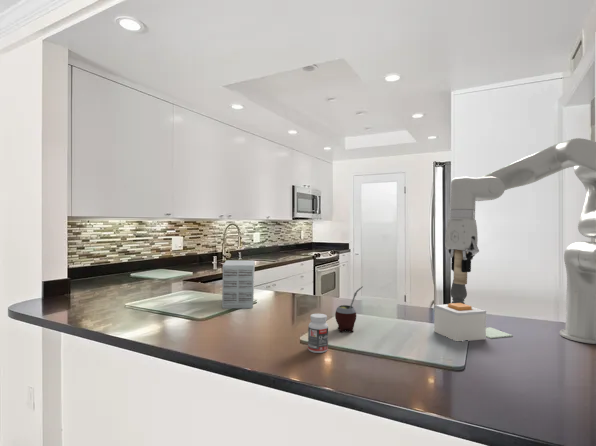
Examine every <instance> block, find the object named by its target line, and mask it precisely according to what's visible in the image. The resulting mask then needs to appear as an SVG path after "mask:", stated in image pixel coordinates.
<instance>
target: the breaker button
mask: <svg viewBox="0 0 596 446" xmlns="http://www.w3.org/2000/svg"><path fill="white" fill-rule="evenodd" d="M447 304H448V307H449V308H452V309H455V310H458V311H462V310H472V307H473V306H472V305H468V304H466V303H465V304H463V303H452V302H450V303H447Z"/></svg>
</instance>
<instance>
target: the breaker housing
mask: <svg viewBox="0 0 596 446" xmlns="http://www.w3.org/2000/svg"><path fill="white" fill-rule="evenodd" d="M448 304H449V303H446V304H445V303H444V304H434V315H433V316H434V319H433V320H434V323H433V325H434V326H433V328H434V329H433V332H435V333H437V334H439V335H441V336H443V337H445V336H446V337H445V338H447V337H448V339H450V340H452V339H453V340H452V341H454V340H455V341H454V342H456V341H462V340H468V341H467V342H469V341H470V342H471V341H481V340H486V339H487V337H486V328H487V311H486V310H483V309H480V308H477V307H474V306H472V310H462V311H458V310H455V309H452V308H449V307H448ZM462 342H463V341H462Z"/></svg>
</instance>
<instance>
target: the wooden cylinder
mask: <svg viewBox="0 0 596 446" xmlns="http://www.w3.org/2000/svg"><path fill="white" fill-rule="evenodd" d="M467 254H468V252H467ZM462 260H464V259H463V251H462V250H455V257H454V272H453V280H454V283H455V284H465V285H467V284H468V272H462V271H461V269H462Z"/></svg>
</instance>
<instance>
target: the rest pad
mask: <svg viewBox="0 0 596 446" xmlns="http://www.w3.org/2000/svg"><path fill="white" fill-rule="evenodd" d="M510 337H513V334H511V333H508V332H505V331H501V330H499V329H497V328H494V327H490V326H489V327H486V338H488V339H500V338H501V339H502V338H510Z"/></svg>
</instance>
